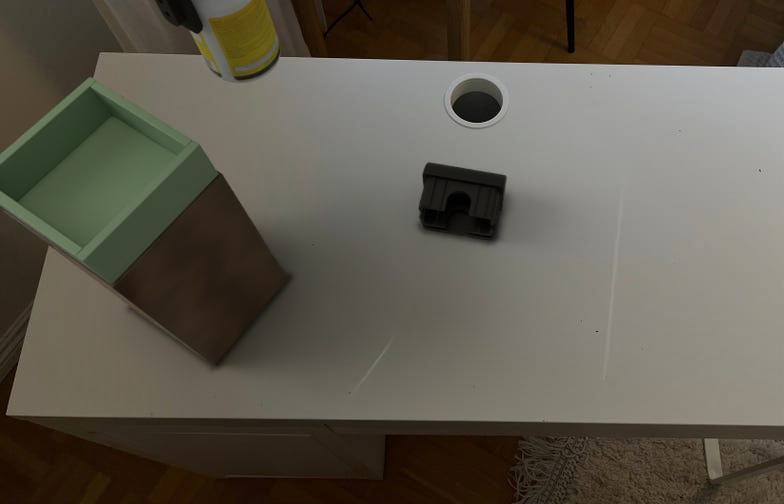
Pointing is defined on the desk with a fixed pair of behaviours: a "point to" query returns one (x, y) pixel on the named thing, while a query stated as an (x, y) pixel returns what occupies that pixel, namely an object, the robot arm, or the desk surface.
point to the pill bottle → (237, 39)
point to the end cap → (461, 200)
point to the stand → (199, 273)
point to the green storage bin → (102, 178)
